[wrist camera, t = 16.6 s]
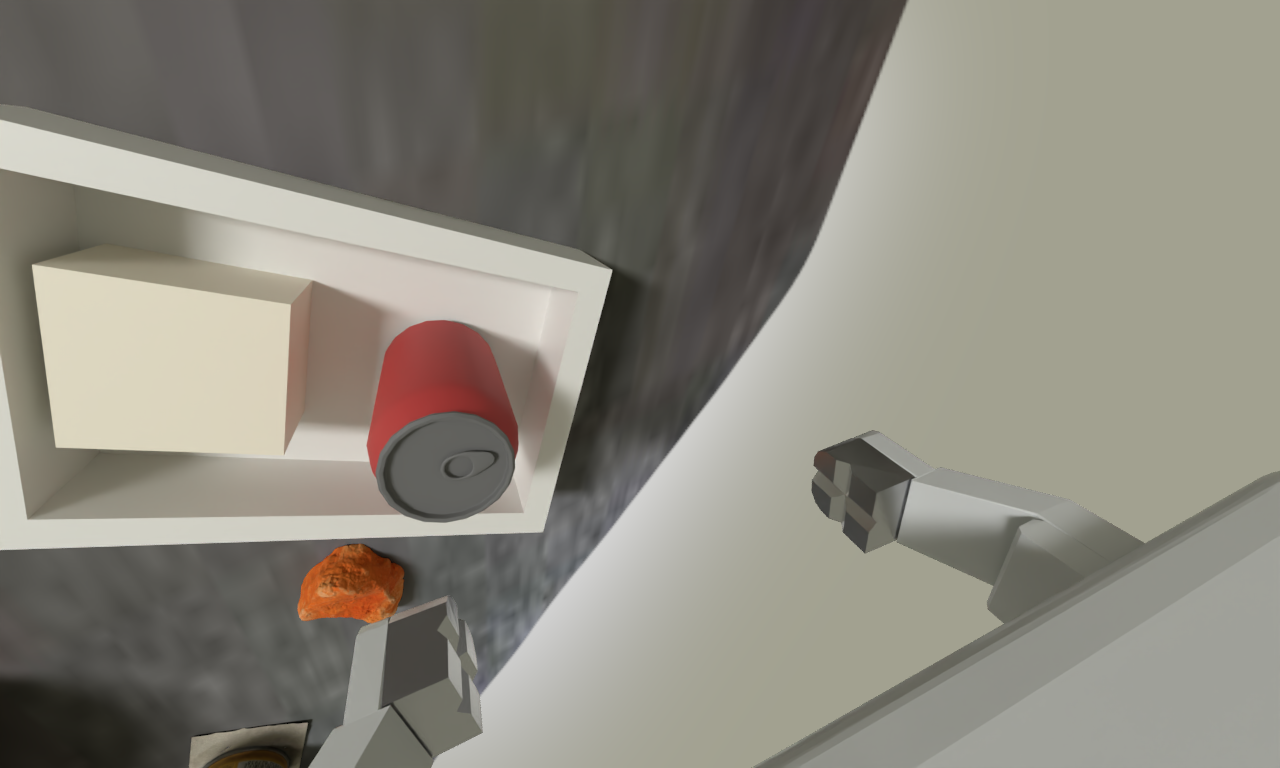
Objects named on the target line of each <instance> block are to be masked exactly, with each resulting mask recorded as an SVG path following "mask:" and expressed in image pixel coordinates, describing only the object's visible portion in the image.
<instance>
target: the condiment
mask: <svg viewBox="0 0 1280 768" xmlns="http://www.w3.org/2000/svg"><path fill="white" fill-rule="evenodd" d="M307 725H308V723H299V724H295V723H291V724H283V725H276V726H264V727H257V728H251V729H245V728H242V729H240V730H236V731H231V732H225V733H214V734H211V735H205V736H198V737H192V740H191V752H190V762H189V768H299V767H300V762H301V757H302V751H303V746H304V741H305V736H306V730H307ZM228 746H230V747H229V748H228V749H225V748H226V747H228ZM284 747H286V748H284ZM223 750H225V751H224V752H221V751H223Z"/></svg>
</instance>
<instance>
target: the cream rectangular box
mask: <svg viewBox="0 0 1280 768" xmlns="http://www.w3.org/2000/svg"><path fill="white" fill-rule="evenodd" d="M32 270H33V277H34V285H35V292H36V300H37V308H38V315H39V323H40V331H41V338H42V346H43V354H44V361H45V369H46V376H47V384H48V392H49V399H50V407H51V415H52V422H53V430H54V437H55V445H56V448H83V449H112V450H140V451H169V452H198V453H227V454H256V455H284V454H285V452H286V450H287V447H288V445H289V443H290V441H291V439H292V437H293V435H294V432H295V430H296V428H297V426H298V424H299V422H300V420H301V417H302V415H303V413H304V411H305V396H306V380H307V363H308V347H309V330H310V314H311V298H312V281H313V280H310V279H304V278H298V277H293V276H287V275H281V274H276V273H270V272H265V271H259V270H253V269H248V268H242V267H236V266H231V265H225V264H220V263H214V262H208V261H203V260H197V259H191V258H186V257H180V256H175V255H169V254H163V253H158V252H152V251H146V250H141V249H135V248H130V247H124V246H118V245H113V244H107V243H106V244H102V245H99V246H95V247H92V248H88V249H85V250H81V251H78V252H74V253H71V254H67V255H64V256H60V257H56V258H53V259H49V260H46V261H42V262H39V263H35V264H32Z"/></svg>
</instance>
